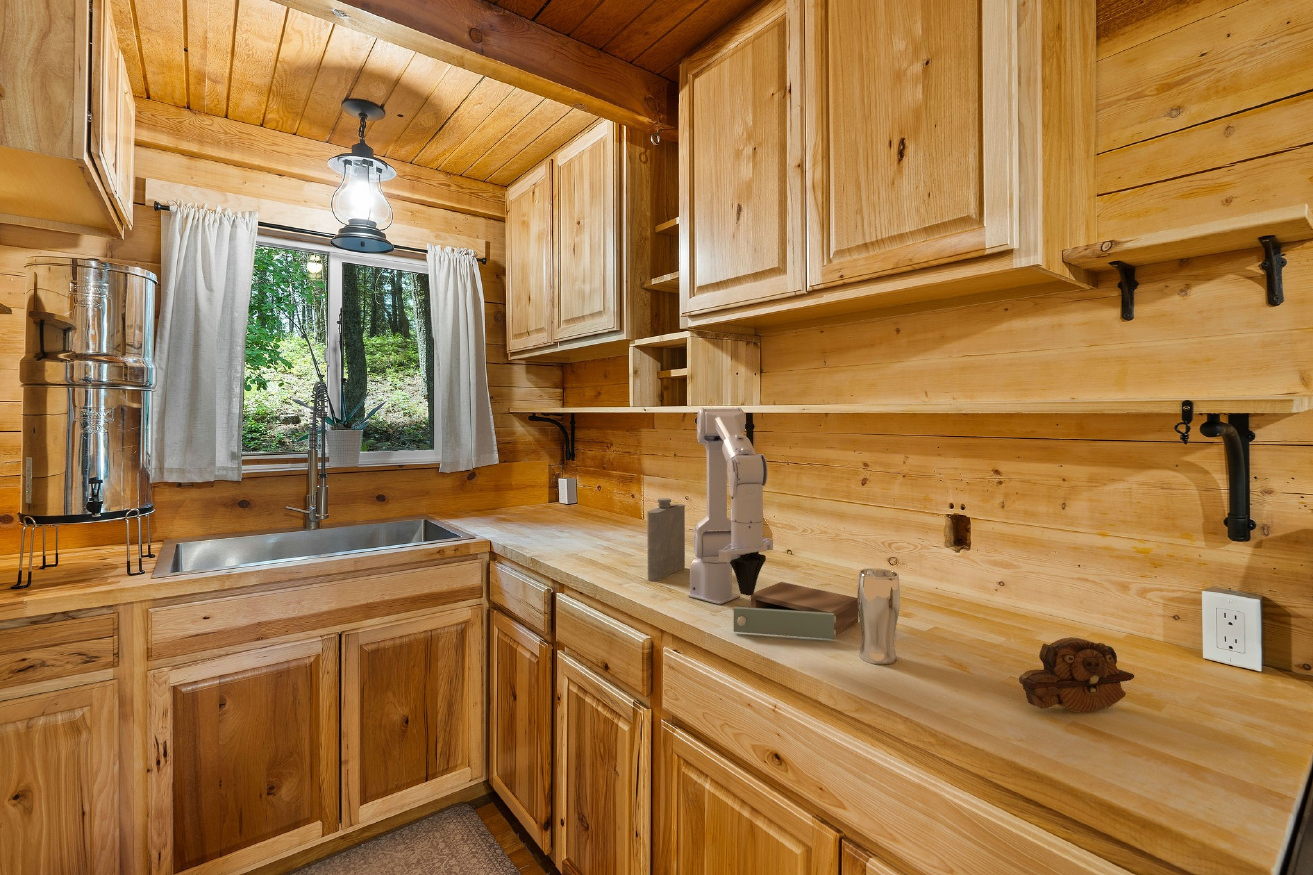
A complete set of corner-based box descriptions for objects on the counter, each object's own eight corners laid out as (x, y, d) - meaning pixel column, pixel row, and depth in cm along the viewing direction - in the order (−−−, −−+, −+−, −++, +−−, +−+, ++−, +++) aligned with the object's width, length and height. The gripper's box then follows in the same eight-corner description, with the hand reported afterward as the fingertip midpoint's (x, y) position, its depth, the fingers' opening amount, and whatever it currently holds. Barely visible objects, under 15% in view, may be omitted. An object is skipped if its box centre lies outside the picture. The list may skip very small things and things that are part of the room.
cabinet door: (732, 634, 119) (732, 610, 119) (734, 630, 121) (734, 606, 121) (836, 641, 115) (836, 617, 114) (835, 637, 117) (835, 613, 117)
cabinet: (750, 617, 130) (750, 593, 130) (781, 603, 139) (781, 581, 138) (830, 638, 118) (830, 612, 117) (858, 622, 126) (858, 598, 126)
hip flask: (655, 581, 157) (655, 503, 156) (642, 579, 159) (641, 501, 158) (686, 568, 171) (686, 495, 170) (674, 566, 173) (673, 494, 172)
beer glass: (865, 647, 113) (866, 565, 113) (904, 656, 109) (905, 571, 108) (850, 659, 108) (851, 573, 107) (891, 669, 103) (892, 580, 103)
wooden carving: (1040, 723, 86) (1042, 652, 85) (1015, 708, 90) (1016, 640, 90) (1141, 712, 89) (1143, 643, 88) (1111, 697, 93) (1113, 631, 93)
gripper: (742, 528, 106) (741, 607, 106) (786, 517, 117) (786, 589, 117) (709, 523, 111) (709, 599, 111) (755, 513, 121) (755, 582, 122)
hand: (746, 594), depth 115 cm, fingers closed
